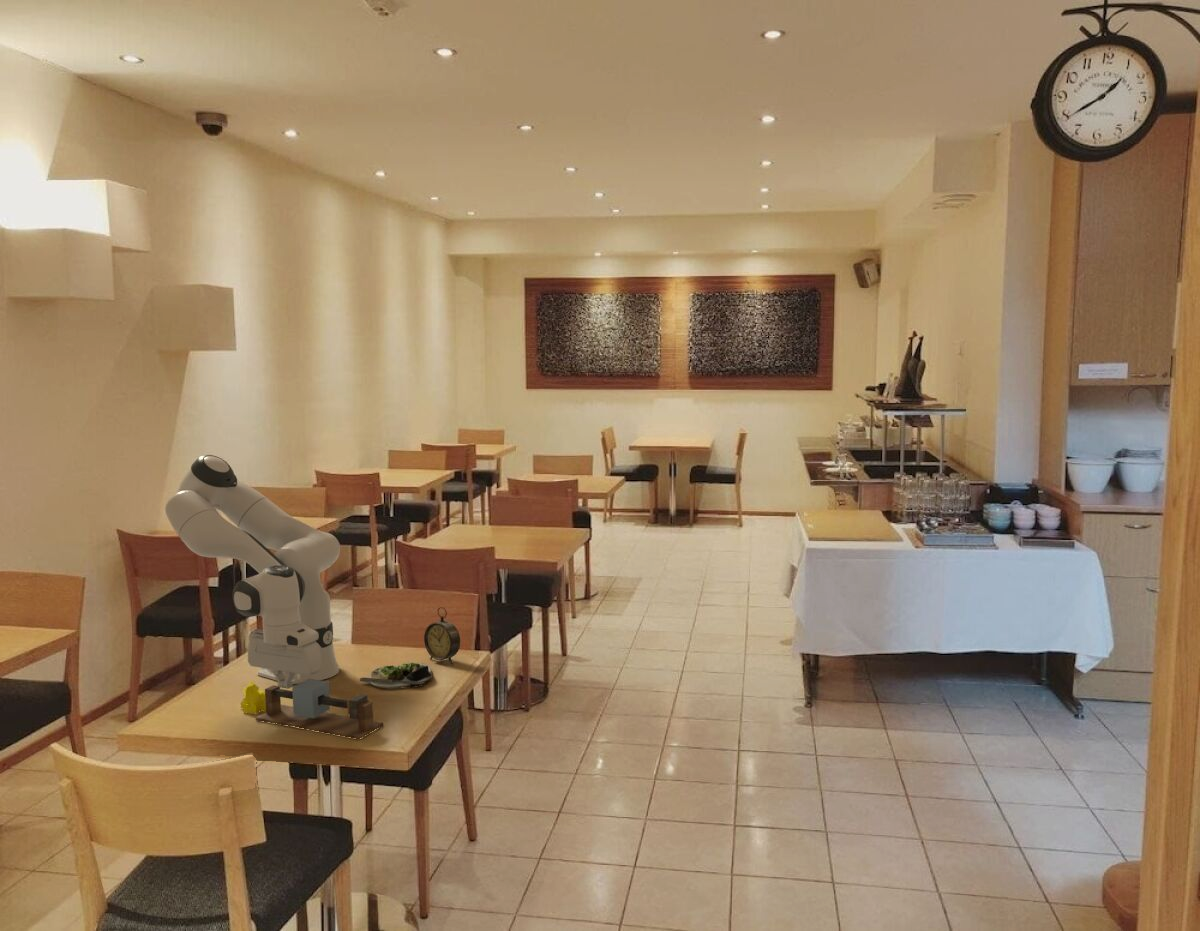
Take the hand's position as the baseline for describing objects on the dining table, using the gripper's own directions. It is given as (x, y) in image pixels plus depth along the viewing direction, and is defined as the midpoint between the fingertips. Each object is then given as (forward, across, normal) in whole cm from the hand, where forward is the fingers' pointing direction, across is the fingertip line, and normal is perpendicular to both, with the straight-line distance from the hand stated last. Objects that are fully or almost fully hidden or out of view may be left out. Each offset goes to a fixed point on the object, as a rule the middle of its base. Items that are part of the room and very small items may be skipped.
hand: (285, 687), depth 230 cm
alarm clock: (+8, +13, +50) cm, 53 cm away
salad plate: (+8, +11, +34) cm, 36 cm away
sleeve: (+5, +8, 0) cm, 9 cm away
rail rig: (+8, +10, 0) cm, 13 cm away
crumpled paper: (+8, -11, +2) cm, 14 cm away
